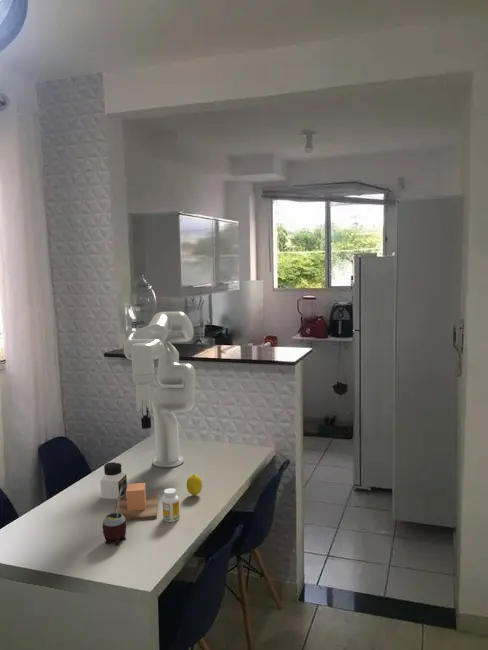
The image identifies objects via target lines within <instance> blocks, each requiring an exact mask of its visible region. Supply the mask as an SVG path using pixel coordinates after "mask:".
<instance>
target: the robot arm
mask: <svg viewBox="0 0 488 650" xmlns="http://www.w3.org/2000/svg"><path fill="white" fill-rule="evenodd" d="M192 323H193V322H191V320H190V319H189V316H188V315H187V314H186V313H184V312H183V311H159V312H157V313H155V314H154V316H153V317H152V319H151V320H150V322H149V323H148V325H146V326H144V327H142V328H139V329H137V330H135V331H133V332H132V333H130V334H129V335H128V337H127V339H126V340H125V342H124V347H123V353H124V356H125V357H126V359H128V360H131V366H132V367H131V370H132V382H133V383H132V384H135V394H136V395H135V398H136V399H135V400H136V402H135V403H136V412H137V413H138V412H141V418H140V419H141V429H143V430H145V429H146V430H147V429H152V417H151V411H153V418H154V432H155V433H154V434H155V435H154V437H155V448H156V449H155V450H156V452H155V453H156V454H155V455H156V457H155V458H154V459H152V460H153V461H152V464H153V465H154V466H155V467H157V468H164V469H168V468H173V467H177V466H178V467H179V466H180V465H181V464H183V462H184V461H185V460H184V456H182V455H181V454H180V435H179V434H180V433H179V422H178V419H177V416H176V414H175V413H174V412H188V411H189V412H190V411H192V410H193V408H194V405H195V392H196V369H195V367H194V365H192V364H191V363H179V360H180V353H179V351H178V350H177V348H176V347H175V346H174V345H173V344H172V342H173V343H174V342H177V343H178V342H190V341H191V340H192V339H193V338H194V332H195V331H194V326H193V324H192ZM157 360H158V363H157V373H156V377H155V365H154V362H155V361H157ZM155 378H157V379H155ZM155 380H157V383H158V385H160V386H162V387H160V388H157V389H155V390H153V389H152V385H153V383H155ZM151 409H152V410H151Z"/></svg>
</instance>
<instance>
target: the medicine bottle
mask: <svg viewBox="0 0 488 650" xmlns="http://www.w3.org/2000/svg"><path fill="white" fill-rule="evenodd" d="M103 469H104V470H103V471H104V476H103V477H102V478H101V479H100V482H99V483H100V495H101V499H103V500H118V496H119V492H120V489H121V487H123V488H122V491H121V495H120V498H123V497H124V496H125V494H126V489H127V485H128V481H127V478H128V477H127V473H125V472H123V471H122V463H120V462H119V461H110V462H107V463H106V464H104V466H103Z"/></svg>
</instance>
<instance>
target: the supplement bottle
mask: <svg viewBox="0 0 488 650" xmlns="http://www.w3.org/2000/svg"><path fill="white" fill-rule="evenodd" d="M161 501H162V502H161V504H162V519H163V521H165V522H167V523H172V522H173V523H174V522H177V521H179V519H180V500H179V496H178V495H177V489H176V488H173V487H171V488H166V489H164V490H163V497H162V498H161Z"/></svg>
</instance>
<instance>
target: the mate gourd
mask: <svg viewBox="0 0 488 650" xmlns="http://www.w3.org/2000/svg"><path fill="white" fill-rule="evenodd" d="M122 488H123V487H121V489H120V492H119V496H118V499H117V503H118V506H117V505H116V507H117V513H115V512H112V513H109V514H106V515H105V517H104V519H103V520H102V533H103V537H104V540H105V541H104V543H105V545H108V544H112V543H114V544H115V546H116V547H118V546H120V545H119V542H121V541H124V540H126V539H127V537H126V533H127V521H126V520H125V517H124V516H123V515H122V514H120V513H119V502H120V495H121V491H122Z"/></svg>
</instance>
